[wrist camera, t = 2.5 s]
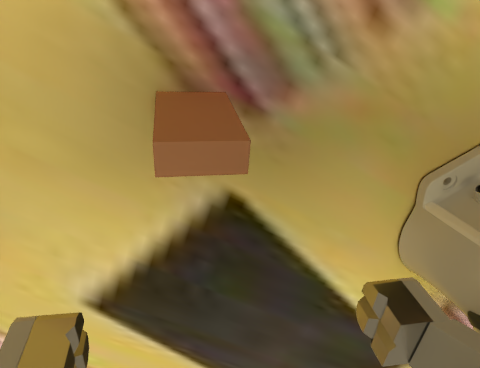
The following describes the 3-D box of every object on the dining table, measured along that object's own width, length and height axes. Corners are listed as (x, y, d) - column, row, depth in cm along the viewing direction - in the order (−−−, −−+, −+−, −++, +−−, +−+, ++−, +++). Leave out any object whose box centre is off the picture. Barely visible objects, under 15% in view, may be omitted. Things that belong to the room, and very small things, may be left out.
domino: (156, 91, 25) (152, 142, 17) (225, 92, 26) (250, 140, 18) (157, 118, 26) (155, 177, 18) (224, 118, 27) (247, 173, 19)
